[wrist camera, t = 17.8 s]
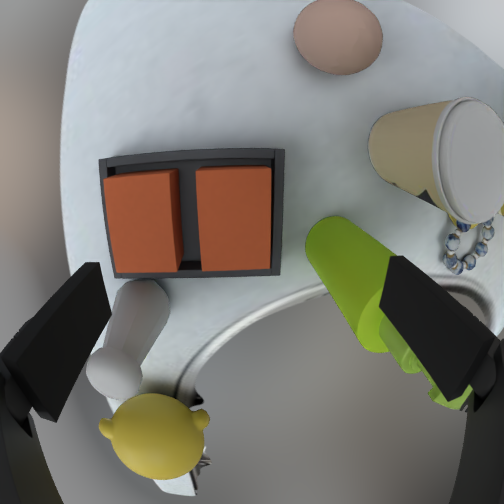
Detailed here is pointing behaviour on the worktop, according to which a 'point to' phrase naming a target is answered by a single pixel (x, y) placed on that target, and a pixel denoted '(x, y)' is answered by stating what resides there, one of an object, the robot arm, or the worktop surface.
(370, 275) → the soap dispenser
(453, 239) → the bracelet
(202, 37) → the worktop surface
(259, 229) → the loose pad
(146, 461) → the sculpture
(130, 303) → the salt shaker
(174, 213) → the seated pad
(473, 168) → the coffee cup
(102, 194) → the pad frame
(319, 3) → the egg
